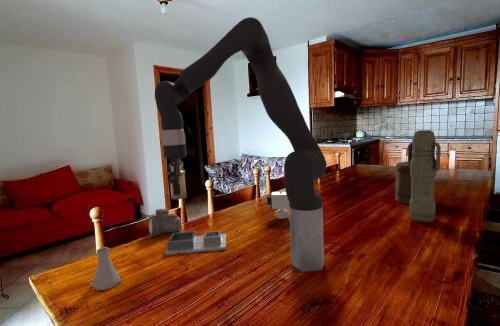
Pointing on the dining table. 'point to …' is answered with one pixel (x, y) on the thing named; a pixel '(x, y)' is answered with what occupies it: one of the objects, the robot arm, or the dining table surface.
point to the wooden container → (403, 183)
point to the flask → (105, 271)
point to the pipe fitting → (163, 222)
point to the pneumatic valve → (279, 203)
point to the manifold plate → (195, 242)
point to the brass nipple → (182, 187)
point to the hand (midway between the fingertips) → (178, 192)
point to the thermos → (423, 175)
